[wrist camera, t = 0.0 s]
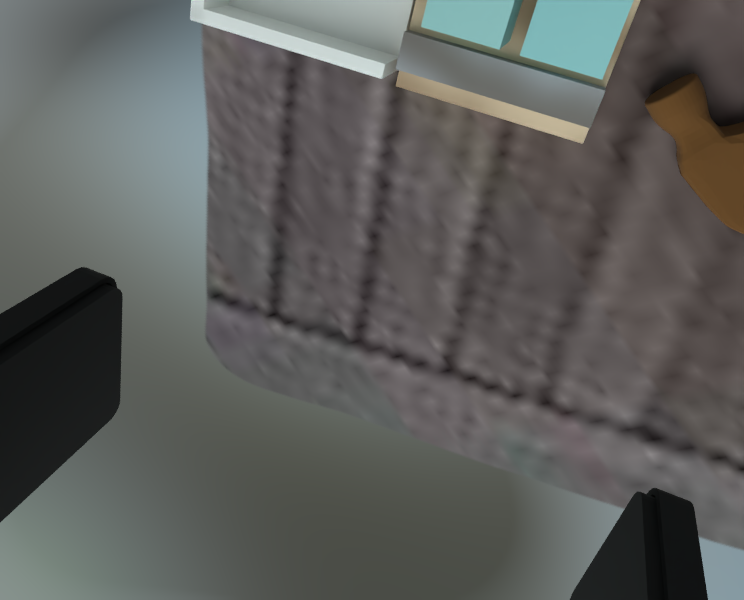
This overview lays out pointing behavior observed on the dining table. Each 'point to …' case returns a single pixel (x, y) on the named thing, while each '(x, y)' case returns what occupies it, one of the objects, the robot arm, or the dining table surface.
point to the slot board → (503, 77)
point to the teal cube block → (576, 33)
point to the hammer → (703, 147)
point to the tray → (318, 28)
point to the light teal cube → (474, 19)
